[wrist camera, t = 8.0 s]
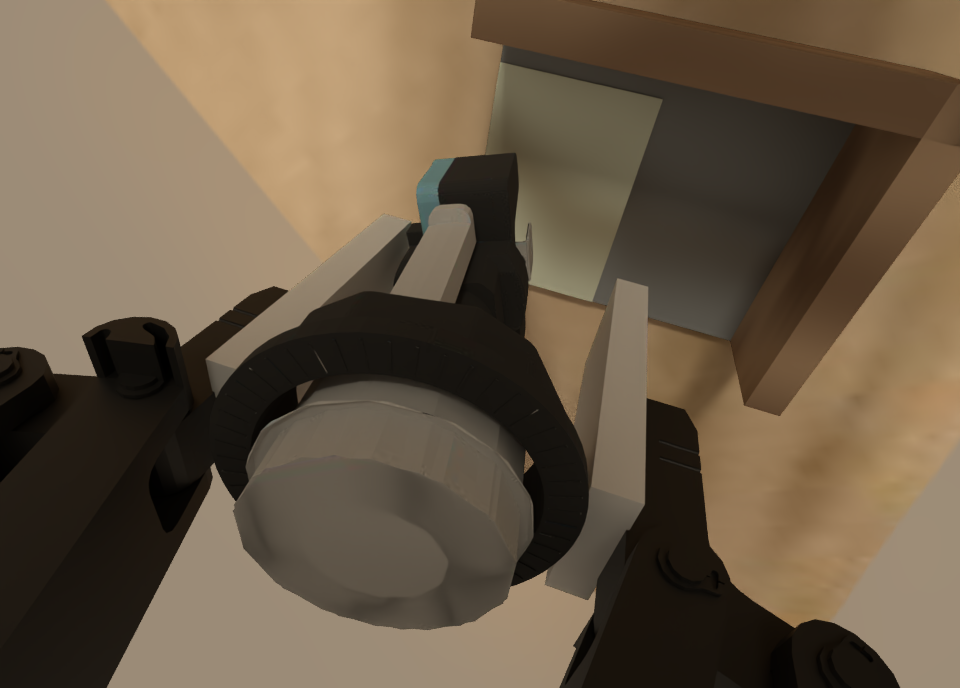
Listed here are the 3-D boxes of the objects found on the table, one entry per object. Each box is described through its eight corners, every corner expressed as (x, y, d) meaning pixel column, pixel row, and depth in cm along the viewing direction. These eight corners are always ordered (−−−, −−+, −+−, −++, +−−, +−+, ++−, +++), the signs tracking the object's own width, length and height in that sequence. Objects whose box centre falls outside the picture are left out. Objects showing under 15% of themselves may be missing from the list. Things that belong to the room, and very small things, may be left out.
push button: (576, 350, 16) (590, 713, 8) (416, 353, 17) (282, 681, 9) (574, 130, 12) (596, 389, 4) (369, 149, 13) (72, 391, 5)
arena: (516, -16, 16) (477, -17, 13) (929, 70, 15) (1016, 96, 11) (470, 262, 23) (435, 313, 19) (758, 343, 21) (779, 416, 17)
